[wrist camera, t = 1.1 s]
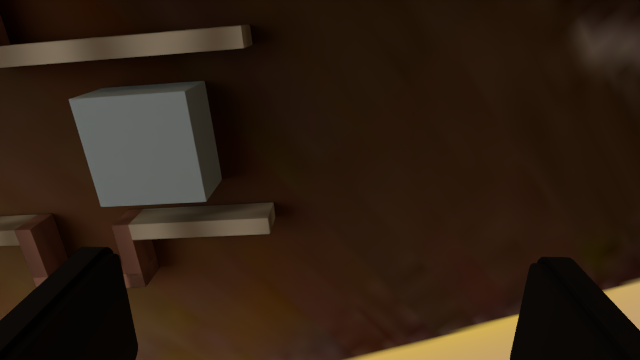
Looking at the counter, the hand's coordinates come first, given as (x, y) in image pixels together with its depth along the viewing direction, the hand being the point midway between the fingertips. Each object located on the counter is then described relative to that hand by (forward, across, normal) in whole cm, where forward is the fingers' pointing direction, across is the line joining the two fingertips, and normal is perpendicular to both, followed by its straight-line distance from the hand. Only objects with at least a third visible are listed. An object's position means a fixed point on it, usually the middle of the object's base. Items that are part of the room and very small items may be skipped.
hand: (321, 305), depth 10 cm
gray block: (+20, +12, +2) cm, 23 cm away
